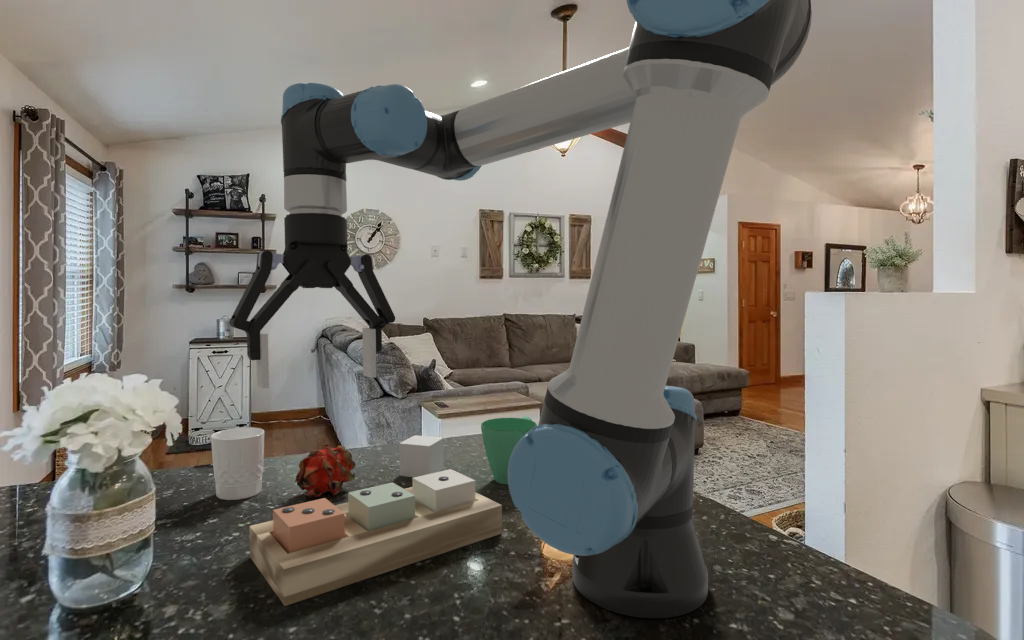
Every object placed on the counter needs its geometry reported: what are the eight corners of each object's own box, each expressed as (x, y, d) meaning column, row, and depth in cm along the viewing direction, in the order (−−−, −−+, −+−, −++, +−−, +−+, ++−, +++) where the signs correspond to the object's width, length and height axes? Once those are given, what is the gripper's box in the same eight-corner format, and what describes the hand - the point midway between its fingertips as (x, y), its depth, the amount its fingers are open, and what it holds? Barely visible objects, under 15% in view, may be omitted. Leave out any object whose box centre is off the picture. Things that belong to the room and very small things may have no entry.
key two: (415, 525, 74) (415, 494, 74) (369, 539, 70) (368, 506, 70) (392, 510, 79) (392, 481, 79) (348, 522, 75) (348, 491, 75)
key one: (475, 508, 80) (475, 479, 80) (435, 519, 76) (435, 489, 76) (450, 495, 85) (450, 468, 85) (412, 505, 81) (412, 476, 81)
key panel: (501, 533, 78) (501, 505, 78) (284, 606, 60) (283, 569, 60) (447, 503, 89) (447, 478, 89) (250, 557, 71) (249, 525, 71)
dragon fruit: (355, 490, 100) (307, 526, 89) (320, 458, 101) (269, 490, 90) (375, 456, 96) (328, 489, 86) (339, 424, 98) (288, 453, 87)
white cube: (414, 466, 108) (414, 435, 108) (443, 469, 107) (443, 437, 106) (399, 476, 103) (399, 443, 102) (429, 479, 101) (429, 446, 101)
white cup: (201, 498, 91) (199, 436, 91) (239, 482, 99) (237, 425, 98) (239, 504, 89) (238, 441, 88) (276, 488, 96) (274, 429, 96)
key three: (344, 546, 68) (344, 512, 68) (290, 561, 64) (289, 525, 64) (325, 528, 73) (324, 496, 73) (273, 542, 69) (272, 508, 69)
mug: (525, 492, 94) (525, 433, 94) (471, 485, 98) (471, 427, 97) (552, 467, 108) (552, 414, 107) (504, 461, 111) (504, 410, 111)
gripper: (394, 224, 82) (396, 369, 84) (200, 210, 68) (205, 387, 69) (418, 219, 76) (420, 375, 78) (210, 202, 62) (216, 396, 63)
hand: (319, 381), depth 73 cm, fingers open, 13 cm apart
